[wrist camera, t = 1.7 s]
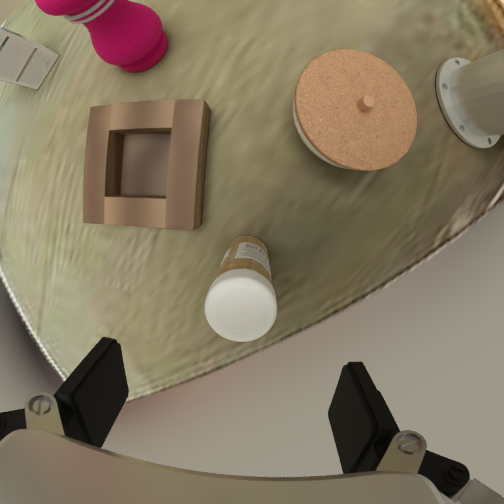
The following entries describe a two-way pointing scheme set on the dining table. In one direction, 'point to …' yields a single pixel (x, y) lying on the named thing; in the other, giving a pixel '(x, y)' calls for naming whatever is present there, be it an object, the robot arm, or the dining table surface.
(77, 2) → the pepper mill
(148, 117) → the socket block
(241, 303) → the sprinkles bottle
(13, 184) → the dining table surface
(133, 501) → the robot arm
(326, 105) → the lidded jar
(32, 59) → the syrup box
